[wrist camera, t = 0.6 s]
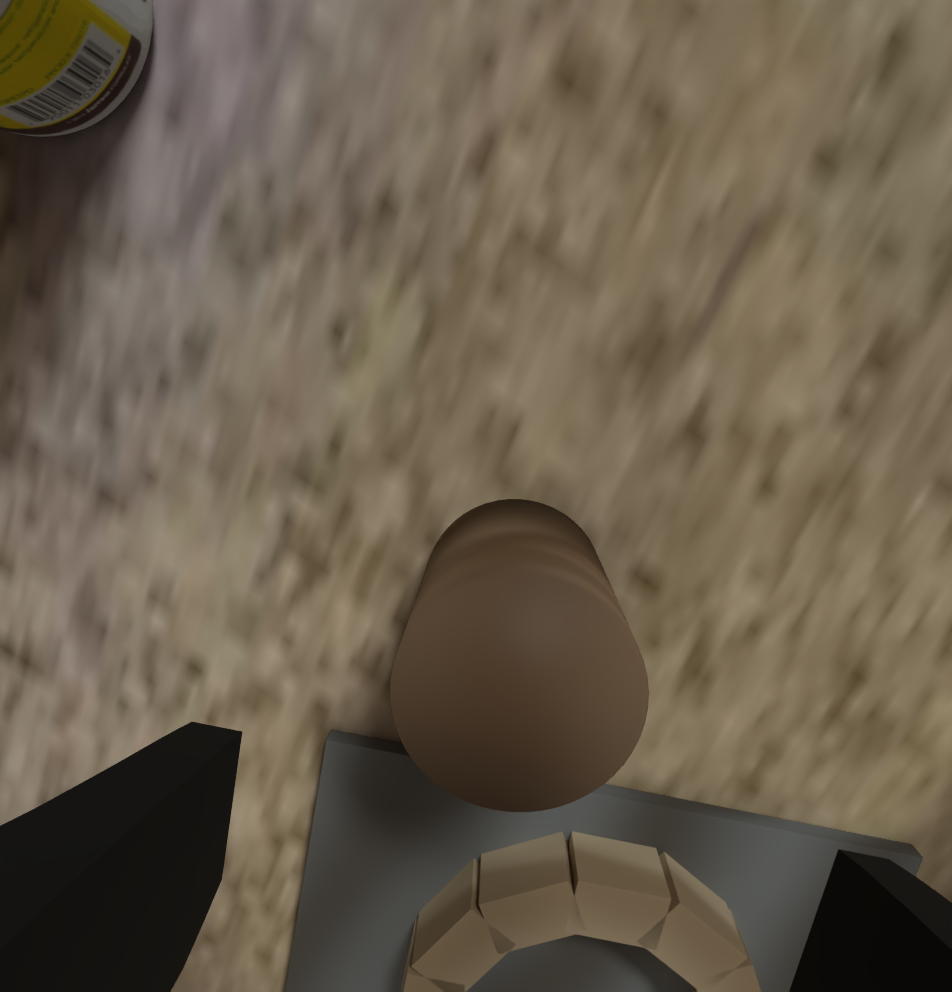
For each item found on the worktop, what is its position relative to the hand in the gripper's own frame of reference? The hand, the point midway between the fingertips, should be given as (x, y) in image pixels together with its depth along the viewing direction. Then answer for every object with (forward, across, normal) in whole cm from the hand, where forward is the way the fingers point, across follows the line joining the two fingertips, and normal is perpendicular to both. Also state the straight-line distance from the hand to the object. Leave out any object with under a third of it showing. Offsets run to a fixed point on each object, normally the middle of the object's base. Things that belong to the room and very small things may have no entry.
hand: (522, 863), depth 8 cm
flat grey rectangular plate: (+10, -4, +11) cm, 15 cm away
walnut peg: (+10, 0, 0) cm, 10 cm away
